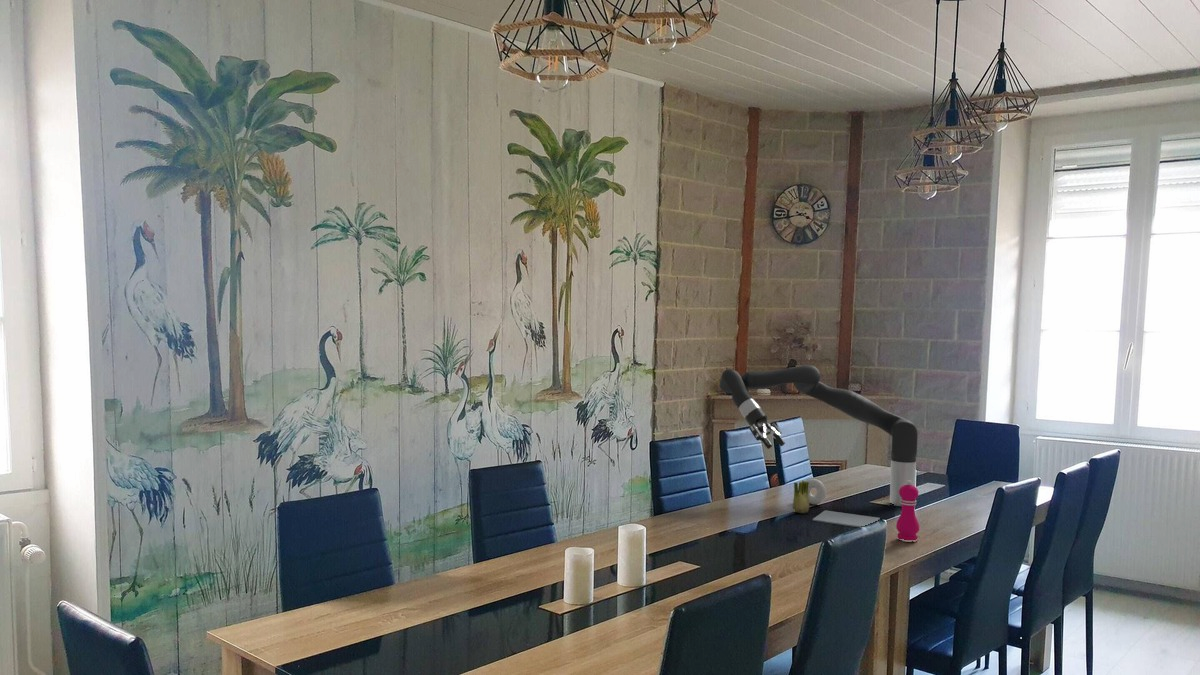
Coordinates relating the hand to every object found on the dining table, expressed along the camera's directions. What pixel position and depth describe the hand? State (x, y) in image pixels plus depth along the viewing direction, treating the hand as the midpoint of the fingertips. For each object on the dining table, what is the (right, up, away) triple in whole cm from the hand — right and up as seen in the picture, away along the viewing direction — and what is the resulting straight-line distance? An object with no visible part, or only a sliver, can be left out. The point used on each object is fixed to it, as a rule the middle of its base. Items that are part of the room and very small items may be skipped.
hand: (776, 446), depth 320 cm
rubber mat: (+22, -25, -16) cm, 37 cm away
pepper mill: (+35, -26, -41) cm, 60 cm away
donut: (+16, -24, +7) cm, 29 cm away
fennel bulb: (+8, -24, -6) cm, 26 cm away
